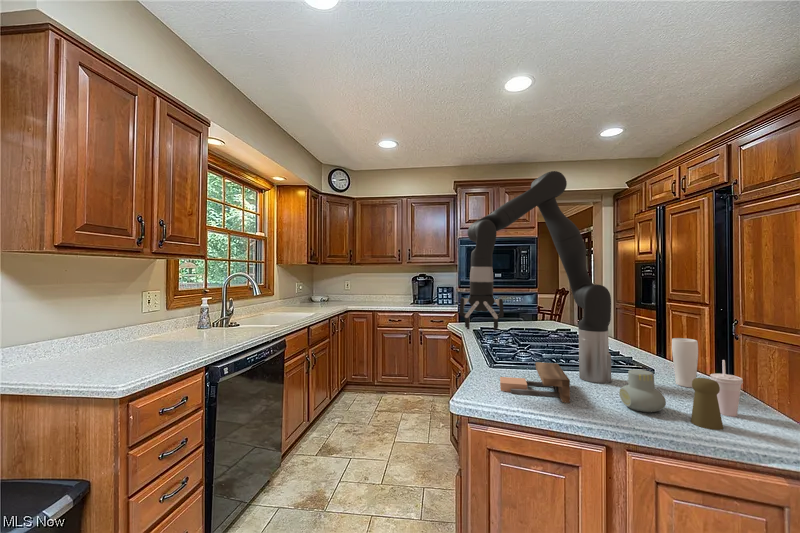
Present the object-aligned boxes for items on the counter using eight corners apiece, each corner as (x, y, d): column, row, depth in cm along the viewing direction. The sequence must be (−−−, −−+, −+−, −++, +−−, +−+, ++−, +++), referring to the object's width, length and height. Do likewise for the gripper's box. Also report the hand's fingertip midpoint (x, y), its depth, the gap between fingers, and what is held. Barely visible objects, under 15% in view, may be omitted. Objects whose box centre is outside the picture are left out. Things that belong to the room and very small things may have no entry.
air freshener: (670, 417, 91) (669, 378, 91) (634, 415, 92) (633, 376, 92) (648, 402, 102) (647, 367, 102) (616, 401, 103) (615, 366, 103)
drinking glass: (699, 385, 117) (698, 339, 117) (698, 390, 112) (697, 342, 112) (674, 381, 121) (672, 337, 122) (671, 385, 116) (670, 339, 117)
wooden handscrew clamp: (557, 382, 121) (557, 363, 121) (570, 403, 101) (569, 380, 102) (508, 379, 125) (508, 360, 125) (511, 398, 105) (511, 376, 106)
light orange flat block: (525, 386, 117) (525, 378, 117) (527, 392, 110) (527, 384, 111) (500, 384, 119) (500, 376, 119) (500, 390, 112) (500, 382, 113)
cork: (729, 430, 83) (728, 383, 83) (700, 428, 84) (698, 382, 84) (712, 420, 89) (711, 376, 89) (685, 418, 90) (683, 374, 90)
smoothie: (704, 409, 96) (702, 357, 96) (726, 408, 96) (724, 356, 97) (728, 419, 89) (726, 363, 90) (751, 418, 90) (749, 362, 90)
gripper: (503, 280, 120) (503, 329, 119) (460, 280, 123) (460, 327, 123) (504, 281, 112) (504, 332, 112) (458, 280, 116) (458, 330, 116)
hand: (481, 329), depth 117 cm, fingers open, 8 cm apart
